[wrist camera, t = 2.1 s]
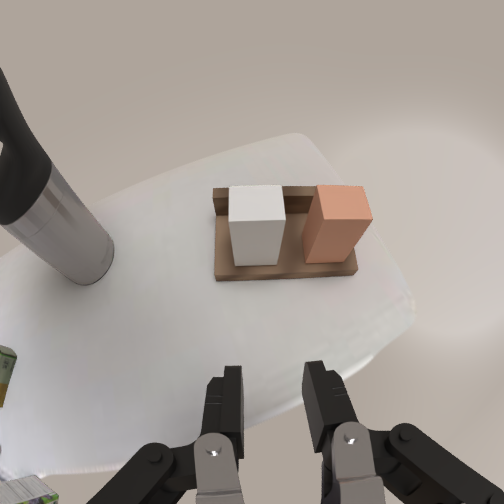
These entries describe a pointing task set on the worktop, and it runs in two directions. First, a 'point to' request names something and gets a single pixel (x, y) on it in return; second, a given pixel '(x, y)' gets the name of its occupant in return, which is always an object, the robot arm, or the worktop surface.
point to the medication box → (5, 370)
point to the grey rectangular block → (256, 223)
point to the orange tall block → (335, 223)
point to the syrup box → (27, 492)
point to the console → (291, 245)
